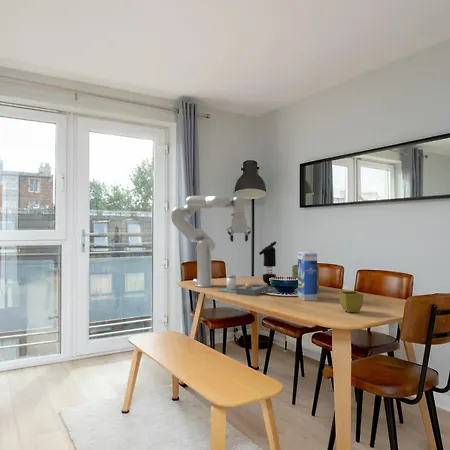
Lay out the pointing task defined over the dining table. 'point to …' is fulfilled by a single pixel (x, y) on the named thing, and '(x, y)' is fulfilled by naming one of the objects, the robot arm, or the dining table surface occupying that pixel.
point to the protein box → (295, 274)
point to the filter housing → (252, 290)
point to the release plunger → (248, 285)
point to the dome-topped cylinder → (231, 282)
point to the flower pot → (351, 300)
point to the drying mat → (228, 290)
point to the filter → (269, 261)
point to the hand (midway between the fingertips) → (239, 241)
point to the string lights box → (307, 275)
